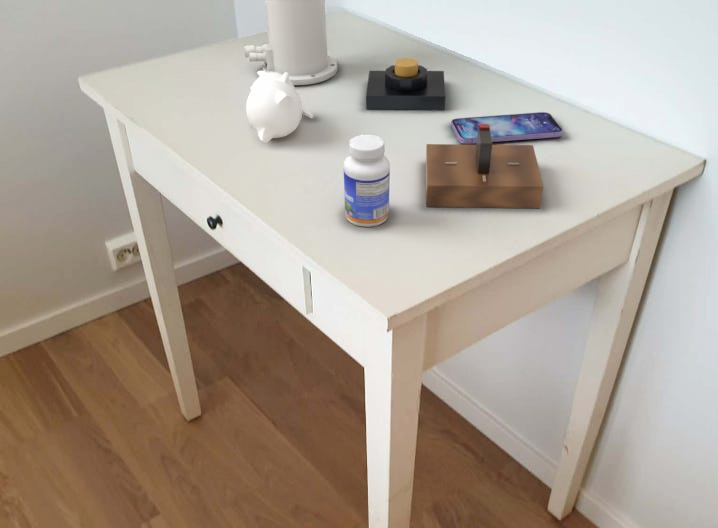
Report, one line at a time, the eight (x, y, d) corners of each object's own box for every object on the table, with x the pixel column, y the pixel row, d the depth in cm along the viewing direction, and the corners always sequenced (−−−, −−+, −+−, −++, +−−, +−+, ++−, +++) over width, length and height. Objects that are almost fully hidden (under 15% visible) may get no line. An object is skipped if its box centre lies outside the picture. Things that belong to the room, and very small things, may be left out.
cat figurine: (260, 49, 105) (263, 78, 96) (324, 84, 110) (333, 115, 101) (235, 102, 109) (235, 134, 100) (297, 134, 114) (303, 167, 105)
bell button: (394, 78, 111) (394, 66, 110) (394, 69, 114) (395, 57, 113) (417, 78, 111) (418, 66, 110) (417, 69, 114) (418, 58, 113)
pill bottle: (344, 206, 91) (340, 132, 84) (387, 203, 91) (387, 129, 84) (346, 229, 87) (343, 154, 80) (391, 227, 87) (392, 151, 80)
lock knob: (489, 173, 90) (492, 141, 87) (477, 173, 90) (480, 141, 87) (486, 154, 94) (489, 123, 91) (475, 154, 94) (478, 123, 91)
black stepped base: (366, 109, 112) (365, 83, 109) (369, 84, 119) (369, 59, 116) (444, 110, 111) (446, 84, 108) (443, 84, 118) (444, 59, 116)
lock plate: (426, 206, 90) (427, 184, 88) (425, 164, 98) (426, 142, 96) (540, 208, 90) (543, 185, 87) (530, 165, 98) (533, 143, 96)
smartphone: (449, 118, 107) (548, 111, 108) (449, 124, 107) (547, 117, 109) (461, 139, 101) (565, 131, 103) (460, 146, 102) (564, 138, 103)
